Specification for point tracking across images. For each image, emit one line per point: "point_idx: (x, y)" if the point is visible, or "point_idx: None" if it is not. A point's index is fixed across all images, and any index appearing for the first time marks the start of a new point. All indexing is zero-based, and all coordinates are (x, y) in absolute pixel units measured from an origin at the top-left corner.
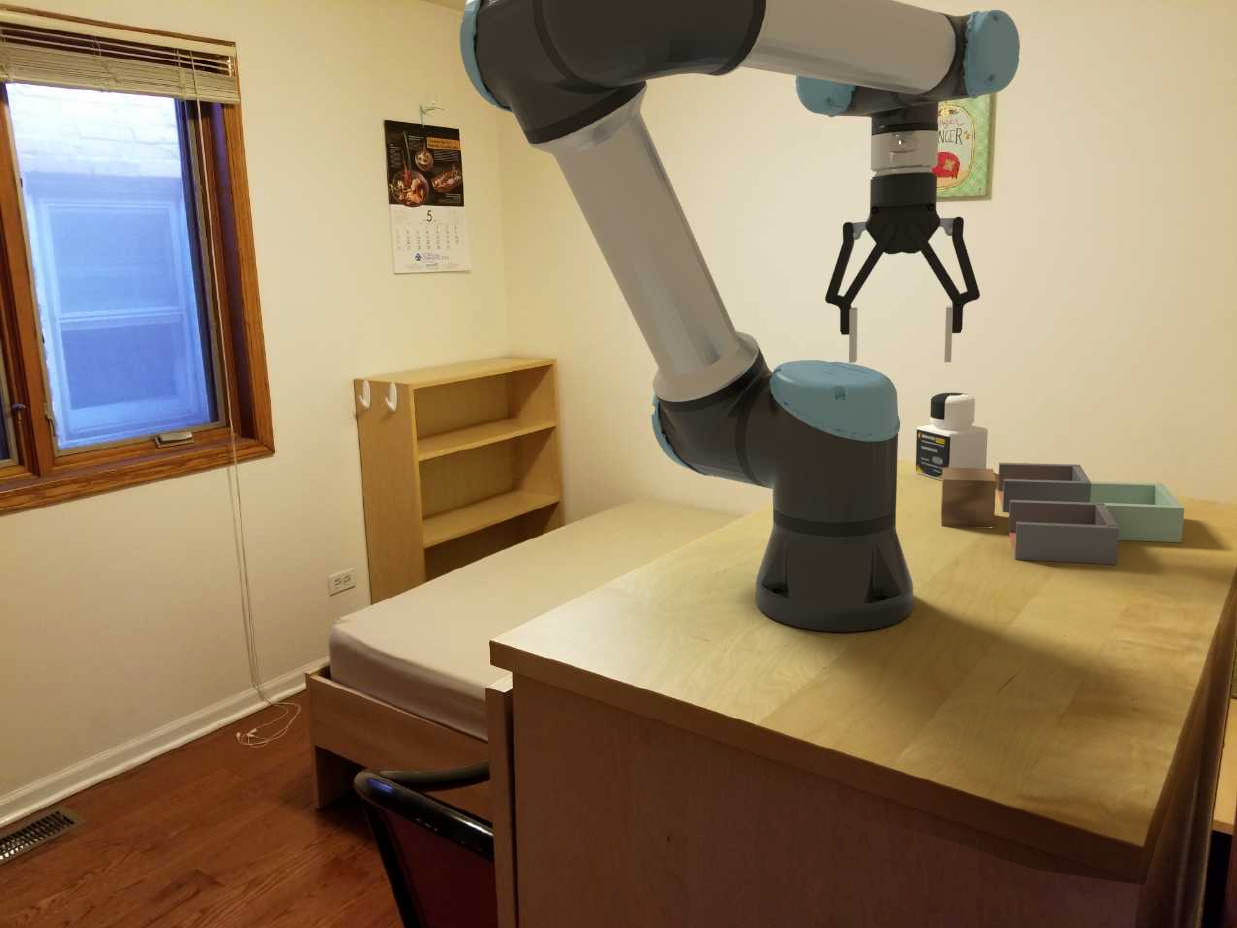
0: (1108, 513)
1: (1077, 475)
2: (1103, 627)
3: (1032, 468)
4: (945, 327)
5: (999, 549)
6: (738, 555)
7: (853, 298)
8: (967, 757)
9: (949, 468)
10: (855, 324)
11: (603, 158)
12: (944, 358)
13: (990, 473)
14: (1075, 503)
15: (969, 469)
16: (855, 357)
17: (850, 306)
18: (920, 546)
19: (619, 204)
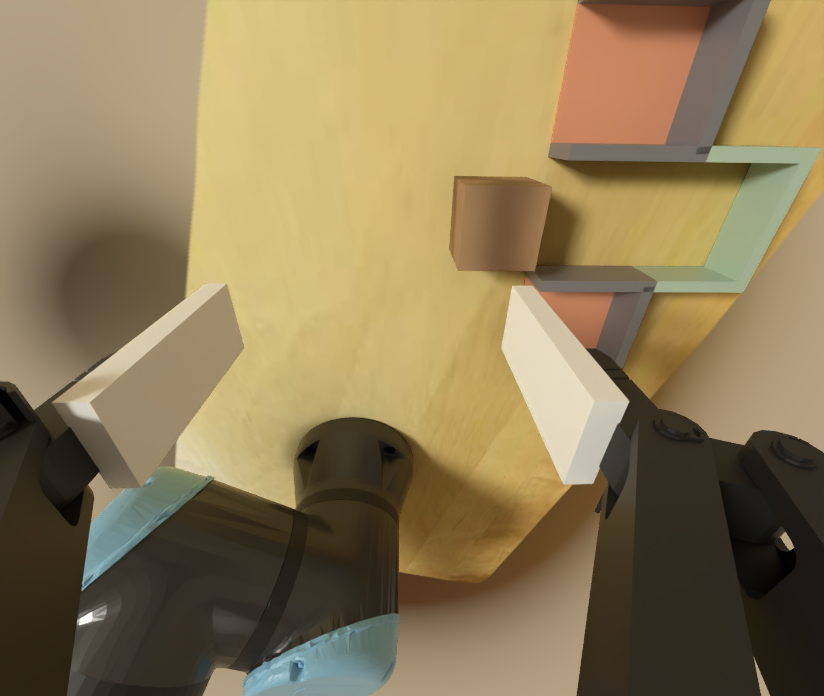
0: (637, 326)
1: (719, 86)
2: (533, 464)
3: None
4: (536, 402)
5: (502, 327)
6: (242, 381)
7: (83, 535)
8: (433, 564)
9: (476, 191)
10: (180, 431)
11: None
12: (506, 338)
13: (538, 222)
14: (620, 288)
15: (510, 196)
16: (237, 352)
17: (85, 473)
18: (420, 329)
19: None
